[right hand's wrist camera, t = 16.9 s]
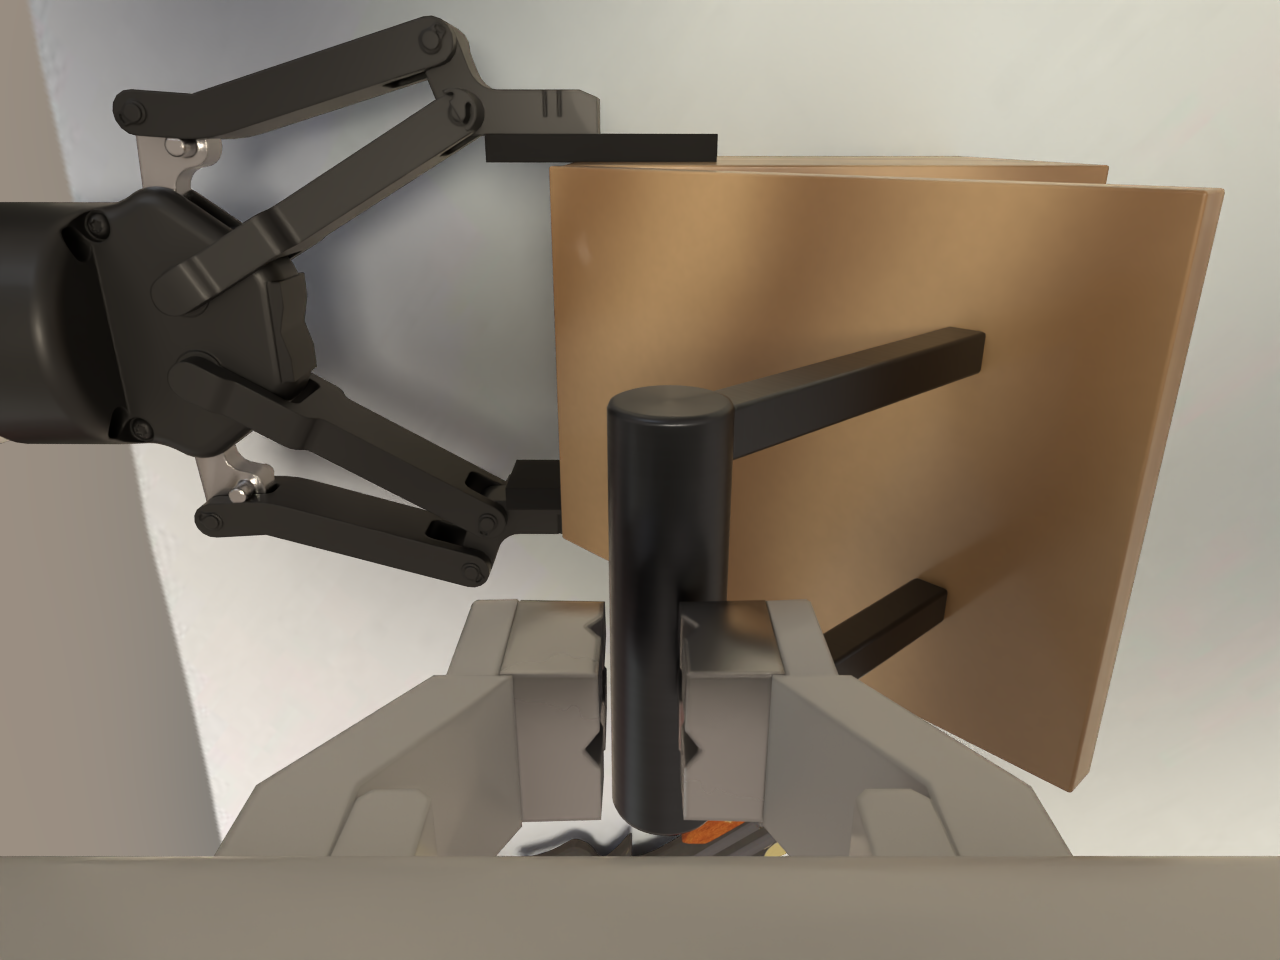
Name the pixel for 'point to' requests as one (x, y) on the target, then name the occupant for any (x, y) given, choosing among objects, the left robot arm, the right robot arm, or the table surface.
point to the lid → (871, 432)
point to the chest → (894, 167)
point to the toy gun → (694, 843)
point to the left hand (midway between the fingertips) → (708, 328)
